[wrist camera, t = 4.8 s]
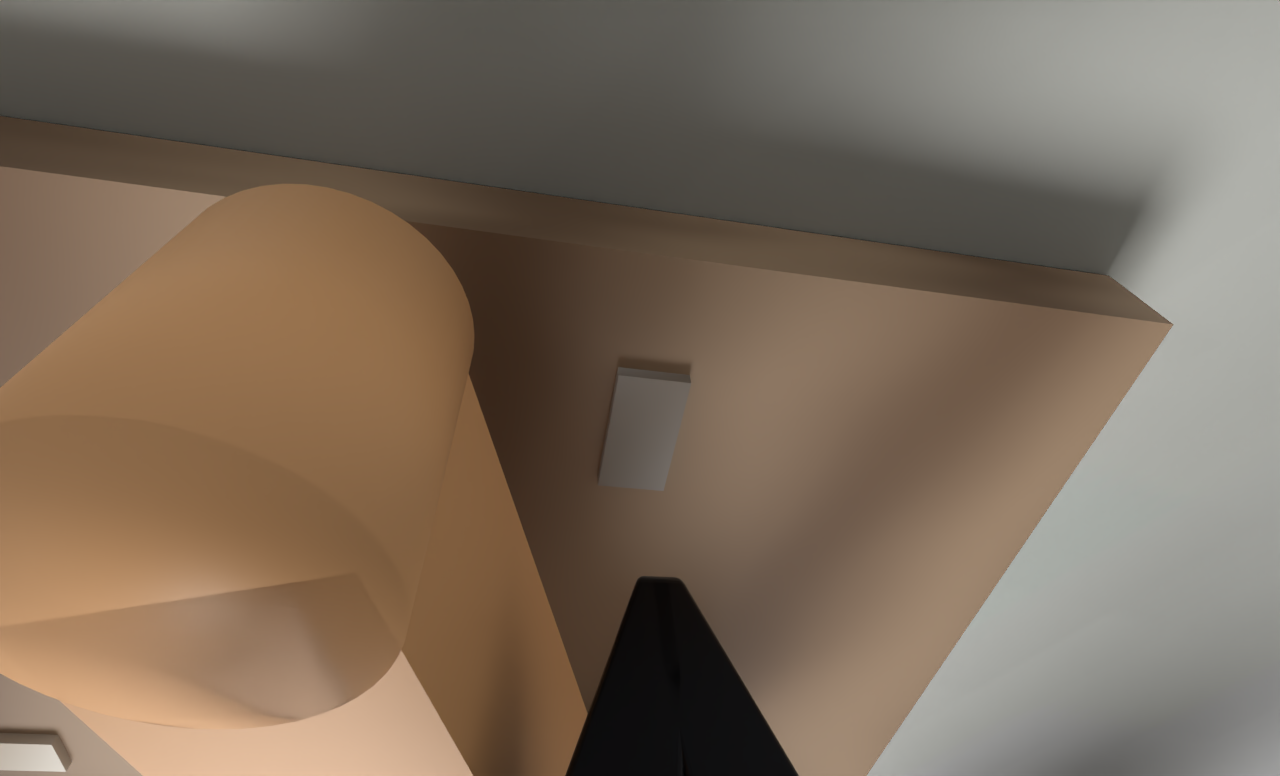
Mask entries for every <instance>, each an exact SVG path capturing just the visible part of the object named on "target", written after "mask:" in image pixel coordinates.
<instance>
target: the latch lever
mask: <svg viewBox="0 0 1280 776" xmlns="http://www.w3.org/2000/svg"><path fill="white" fill-rule="evenodd" d="M473 351H474V325H473V317H472V313H471V309H470V305H469V302H468V299H467V297H466V294H465V292H464V289H463V287H462V285H461V283H460V281H459V279H458V278H457V276H456V274H455V272H454V271H453V269H452V268H451V266H450V265H449V264H448V262H447V261H446V260H445V258H444V257H443V256H442V254H441V253H440V252H439V251H438V250H437V249H436V248H435V247H434V246H433V245H432V244H431V242H430V241H429V240H428V239H427V238H426V237H424V236H423V235H422V234H421V233H420V232H418V231H417V230H416V229H415V228H414V227H412V226H411V225H410V224H409V223H407V222H406V221H404V220H403V219H401V218H400V217H398V216H397V215H395V214H394V213H392V212H390V211H388V210H387V209H385V208H383V207H381V206H379V205H377V204H375V203H373V202H371V201H368V200H366V199H363V198H361V197H358V196H356V195H353V194H350V193H347V192H343V191H339V190H335V189H332V188H328V187H321V186H314V185H308V184H275V185H265V186H259V187H255V188H251V189H247V190H243V191H240V192H237V193H235V194H233V195H230V196H228V197H225V198H223V199H221V200H220V201H218V202H216V203H215V204H213V205H212V206H210V207H208V208H207V209H206V210H205V211H203V212H202V213H201V214H200V215H199V216H198V217H197V218H195V219H194V220H193V221H192V222H191V223H190V224H188V225H187V226H186V227H185V228H184V229H183V230H182V231H180V232H179V233H178V234H177V235H176V236H175V237H173V238H172V239H171V240H170V241H169V242H168V243H167V244H165V245H164V246H163V247H162V248H161V249H160V250H158V251H157V252H156V253H155V254H154V255H153V256H152V257H150V258H149V259H148V260H147V261H146V262H145V263H143V264H142V265H141V266H140V267H139V268H138V269H137V270H135V271H134V272H133V273H132V274H131V275H130V276H128V277H127V278H126V279H125V280H124V281H123V282H122V283H120V284H119V285H118V286H117V287H116V288H115V289H113V290H112V291H111V292H110V293H109V294H108V295H107V296H105V297H104V298H103V299H102V300H101V301H100V302H98V303H97V304H96V305H95V306H94V307H93V308H92V309H90V310H89V311H88V312H87V313H86V314H85V315H83V316H82V317H81V318H80V319H79V320H78V321H77V322H75V323H74V324H73V325H72V326H71V327H70V328H68V329H67V330H66V331H65V332H64V333H63V334H62V335H60V336H59V337H58V338H57V339H56V340H55V341H53V342H52V343H51V344H50V345H49V346H48V347H47V348H45V349H44V350H43V351H42V352H41V353H40V354H39V355H37V356H36V357H35V358H34V359H33V360H32V361H30V362H29V363H28V364H27V365H26V366H25V367H24V368H22V369H21V370H20V371H19V372H18V373H17V374H15V375H14V376H13V377H12V378H11V379H10V380H9V381H7V382H6V383H5V384H4V385H3V386H2V387H0V674H2V675H4V676H6V677H8V678H9V679H11V680H13V681H15V682H17V683H19V684H21V685H24V686H26V687H28V688H30V689H33V690H35V691H37V692H39V693H42V694H44V695H46V696H49V697H52V698H54V699H57V700H59V701H60V702H61V703H63V704H64V705H65V706H66V707H67V708H68V709H69V710H70V711H71V712H73V713H74V714H75V715H76V716H77V717H78V718H79V719H80V720H81V721H83V722H84V723H85V724H86V725H87V726H88V727H89V728H90V729H91V730H93V731H94V732H95V733H96V734H97V735H98V736H99V737H100V738H101V739H103V740H104V741H105V742H106V743H107V744H108V745H109V746H110V747H111V748H113V749H114V750H115V751H116V752H117V753H118V754H119V755H120V756H121V757H123V758H124V759H125V760H126V761H127V762H128V763H129V764H130V765H131V766H133V767H134V768H135V769H136V770H137V771H138V772H139V773H140V774H141V775H143V776H565V775H566V772H567V769H568V766H569V764H570V761H571V758H572V755H573V753H574V750H575V747H576V744H577V742H578V739H579V736H580V734H581V731H582V728H583V725H584V723H585V720H586V717H587V714H588V713H587V710H586V707H585V705H584V702H583V699H582V696H581V693H580V690H579V687H578V685H577V682H576V679H575V676H574V673H573V670H572V667H571V665H570V662H569V659H568V656H567V653H566V650H565V647H564V645H563V642H562V639H561V636H560V633H559V630H558V627H557V625H556V622H555V619H554V616H553V613H552V610H551V607H550V605H549V602H548V599H547V596H546V593H545V590H544V587H543V585H542V582H541V579H540V576H539V573H538V570H537V567H536V565H535V562H534V559H533V556H532V553H531V550H530V547H529V545H528V542H527V539H526V536H525V533H524V530H523V527H522V525H521V522H520V519H519V516H518V513H517V510H516V507H515V505H514V502H513V499H512V496H511V493H510V490H509V487H508V485H507V482H506V479H505V476H504V473H503V470H502V467H501V465H500V462H499V459H498V456H497V453H496V450H495V447H494V445H493V442H492V439H491V436H490V433H489V430H488V427H487V425H486V422H485V419H484V416H483V413H482V410H481V407H480V405H479V402H478V399H477V396H476V393H475V390H474V387H473V385H472V382H471V379H470V376H469V369H470V365H471V360H472V356H473Z"/></svg>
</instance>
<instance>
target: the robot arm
mask: <svg viewBox="0 0 1280 776" xmlns="http://www.w3.org/2000/svg"><path fill="white" fill-rule="evenodd" d="M565 776H799V775H798V773H797V771H796V770H795V768H794V766H793V765H792V763H791V761H790V759H789V758H788V756H787V754H786V753H785V751H784V749H783V748H782V746H781V744H780V743H779V741H778V739H777V738H776V736H775V734H774V733H773V731H772V729H771V728H770V726H769V724H768V723H767V721H766V719H765V718H764V716H763V714H762V713H761V711H760V709H759V708H758V706H757V704H756V703H755V701H754V699H753V698H752V696H751V694H750V693H749V691H748V689H747V687H746V686H745V684H744V682H743V681H742V679H741V677H740V676H739V674H738V672H737V671H736V669H735V667H734V666H733V664H732V662H731V661H730V659H729V657H728V656H727V654H726V652H725V651H724V649H723V647H722V646H721V644H720V642H719V641H718V639H717V637H716V636H715V634H714V632H713V631H712V629H711V627H710V626H709V624H708V622H707V620H706V619H705V617H704V615H703V614H702V612H701V610H700V609H699V607H698V605H697V604H696V602H695V600H694V599H693V597H692V595H691V594H690V592H689V590H688V589H687V587H686V585H685V584H684V582H683V581H682V580H681V579H679V578H677V577H659V576H641V577H639V578H638V579H637V581H636V583H635V586H634V589H633V591H632V594H631V597H630V599H629V602H628V605H627V608H626V610H625V613H624V616H623V619H622V621H621V624H620V627H619V630H618V632H617V635H616V638H615V641H614V643H613V646H612V649H611V651H610V654H609V657H608V660H607V662H606V665H605V668H604V671H603V673H602V676H601V679H600V682H599V684H598V687H597V690H596V692H595V695H594V698H593V701H592V703H591V706H590V709H589V712H588V714H587V717H586V720H585V723H584V725H583V728H582V731H581V734H580V736H579V739H578V742H577V744H576V747H575V750H574V753H573V755H572V758H571V761H570V764H569V766H568V769H567V772H566V775H565Z"/></svg>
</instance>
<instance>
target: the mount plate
mask: <svg viewBox="0 0 1280 776" xmlns="http://www.w3.org/2000/svg"><path fill="white" fill-rule="evenodd" d="M275 184H308V185H314V186H321V187H328V188H332V189H335V190H339V191H343V192H347V193H350V194H353V195H356V196H358V197H361V198H363V199H366V200H368V201H371V202H373V203H375V204H377V205H379V206H381V207H383V208H385V209H387V210H388V211H390V212H392V213H394V214H395V215H397V216H398V217H400V218H401V219H403V220H404V221H406V222H407V223H409V224H410V225H411V226H412V227H414V228H415V229H416V230H417V231H418V232H420V233H421V234H422V235H423V236H424V237H426V238H427V239H428V240H429V241H430V242H431V244H432V245H433V246H434V247H435V248H436V249H437V250H438V251H439V252H440V253H441V254H442V256H443V257H444V258H445V260H446V261H447V262H448V264H449V265H450V266H451V268H452V269H453V271H454V272H455V274H456V276H457V278H458V279H459V281H460V283H461V285H462V287H463V289H464V292H465V294H466V297H467V299H468V302H469V305H470V309H471V313H472V317H473V325H474V351H473V356H472V360H471V365H470V369H469V376H470V379H471V382H472V385H473V387H474V390H475V393H476V396H477V399H478V402H479V405H480V407H481V410H482V413H483V416H484V419H485V422H486V425H487V427H488V430H489V433H490V436H491V439H492V442H493V445H494V447H495V450H496V453H497V456H498V459H499V462H500V465H501V467H502V470H503V473H504V476H505V479H506V482H507V485H508V487H509V490H510V493H511V496H512V499H513V502H514V505H515V507H516V510H517V513H518V516H519V519H520V522H521V525H522V527H523V530H524V533H525V536H526V539H527V542H528V545H529V547H530V550H531V553H532V556H533V559H534V562H535V565H536V567H537V570H538V573H539V576H540V579H541V582H542V585H543V587H544V590H545V593H546V596H547V599H548V602H549V605H550V607H551V610H552V613H553V616H554V619H555V622H556V625H557V627H558V630H559V633H560V636H561V639H562V642H563V645H564V647H565V650H566V653H567V656H568V659H569V662H570V665H571V667H572V670H573V673H574V676H575V679H576V682H577V685H578V687H579V690H580V693H581V696H582V699H583V702H584V705H585V707H586V710H587V713H588V712H589V709H590V706H591V703H592V701H593V698H594V695H595V692H596V690H597V687H598V684H599V682H600V679H601V676H602V673H603V671H604V668H605V665H606V662H607V660H608V657H609V654H610V651H611V649H612V646H613V643H614V641H615V638H616V635H617V632H618V630H619V627H620V624H621V621H622V619H623V616H624V613H625V610H626V608H627V605H628V602H629V599H630V597H631V594H632V591H633V589H634V586H635V583H636V581H637V579H638V578H639V577H641V576H659V577H677V578H679V579H681V580H682V581H683V582H684V584H685V585H686V587H687V589H688V590H689V592H690V594H691V595H692V597H693V599H694V600H695V602H696V604H697V605H698V607H699V609H700V610H701V612H702V614H703V615H704V617H705V619H706V620H707V622H708V624H709V626H710V627H711V629H712V631H713V632H714V634H715V636H716V637H717V639H718V641H719V642H720V644H721V646H722V647H723V649H724V651H725V652H726V654H727V656H728V657H729V659H730V661H731V662H732V664H733V666H734V667H735V669H736V671H737V672H738V674H739V676H740V677H741V679H742V681H743V682H744V684H745V686H746V687H747V689H748V691H749V693H750V694H751V696H752V698H753V699H754V701H755V703H756V704H757V706H758V708H759V709H760V711H761V713H762V714H763V716H764V718H765V719H766V721H767V723H768V724H769V726H770V728H771V729H772V731H773V733H774V734H775V736H776V738H777V739H778V741H779V743H780V744H781V746H782V748H783V749H784V751H785V753H786V754H787V756H788V758H789V759H790V761H791V763H792V765H793V766H794V768H795V770H796V771H797V773H798V775H799V776H866V775H867V774H868V772H869V771H870V769H871V768H872V767H873V765H874V764H875V762H876V761H877V759H878V758H879V756H880V755H881V753H882V752H883V750H884V749H885V747H886V746H887V744H888V743H889V742H890V740H891V739H892V737H893V736H894V734H895V733H896V731H897V730H898V728H899V727H900V725H901V724H902V722H903V721H904V720H905V718H906V717H907V715H908V714H909V712H910V711H911V709H912V708H913V706H914V705H915V703H916V702H917V700H918V699H919V697H920V696H921V695H922V693H923V692H924V690H925V689H926V687H927V686H928V684H929V683H930V681H931V680H932V678H933V677H934V675H935V674H936V672H937V671H938V670H939V668H940V667H941V665H942V664H943V662H944V661H945V659H946V658H947V656H948V655H949V653H950V652H951V650H952V649H953V648H954V646H955V645H956V643H957V642H958V640H959V639H960V637H961V636H962V634H963V633H964V631H965V630H966V628H967V627H968V625H969V624H970V623H971V621H972V620H973V618H974V617H975V615H976V614H977V612H978V611H979V609H980V608H981V606H982V605H983V603H984V602H985V600H986V599H987V598H988V596H989V595H990V593H991V592H992V590H993V589H994V587H995V586H996V584H997V583H998V581H999V580H1000V578H1001V577H1002V575H1003V574H1004V573H1005V571H1006V570H1007V568H1008V567H1009V565H1010V564H1011V562H1012V561H1013V559H1014V558H1015V556H1016V555H1017V553H1018V552H1019V551H1020V549H1021V548H1022V546H1023V545H1024V543H1025V542H1026V540H1027V539H1028V537H1029V536H1030V534H1031V533H1032V531H1033V530H1034V528H1035V527H1036V526H1037V524H1038V523H1039V521H1040V520H1041V518H1042V517H1043V515H1044V514H1045V512H1046V511H1047V509H1048V508H1049V506H1050V505H1051V503H1052V502H1053V501H1054V499H1055V498H1056V496H1057V495H1058V493H1059V492H1060V490H1061V489H1062V487H1063V486H1064V484H1065V483H1066V481H1067V480H1068V479H1069V477H1070V476H1071V474H1072V473H1073V471H1074V470H1075V468H1076V467H1077V465H1078V464H1079V462H1080V461H1081V459H1082V458H1083V456H1084V455H1085V454H1086V452H1087V451H1088V449H1089V448H1090V446H1091V445H1092V443H1093V442H1094V440H1095V439H1096V437H1097V436H1098V434H1099V433H1100V431H1101V430H1102V429H1103V427H1104V426H1105V424H1106V423H1107V421H1108V420H1109V418H1110V417H1111V415H1112V414H1113V412H1114V411H1115V409H1116V408H1117V406H1118V405H1119V404H1120V402H1121V401H1122V399H1123V398H1124V396H1125V395H1126V393H1127V392H1128V390H1129V389H1130V387H1131V386H1132V384H1133V383H1134V382H1135V380H1136V379H1137V377H1138V376H1139V374H1140V373H1141V371H1142V370H1143V368H1144V367H1145V365H1146V364H1147V362H1148V361H1149V359H1150V358H1151V357H1152V355H1153V354H1154V352H1155V351H1156V349H1157V348H1158V346H1159V345H1160V343H1161V342H1162V340H1163V339H1164V337H1165V336H1166V334H1167V333H1168V332H1169V330H1170V329H1171V327H1172V326H1173V324H1172V323H1171V322H1169V321H1168V320H1167V319H1165V318H1164V317H1163V316H1161V315H1160V314H1159V313H1157V312H1156V311H1155V310H1153V309H1152V308H1151V307H1149V306H1148V305H1147V304H1145V303H1144V302H1143V301H1142V300H1140V299H1139V298H1138V297H1136V296H1135V295H1134V294H1132V293H1131V292H1130V291H1128V290H1127V289H1126V288H1124V287H1123V286H1122V285H1120V284H1119V283H1118V282H1116V281H1115V280H1114V279H1112V278H1111V277H1110V276H1107V275H1100V274H1093V273H1086V272H1079V271H1072V270H1065V269H1058V268H1051V267H1044V266H1037V265H1030V264H1023V263H1016V262H1010V261H1003V260H996V259H989V258H982V257H975V256H968V255H961V254H954V253H947V252H940V251H933V250H926V249H919V248H912V247H906V246H899V245H892V244H885V243H878V242H871V241H864V240H857V239H850V238H843V237H836V236H829V235H822V234H815V233H808V232H802V231H795V230H788V229H781V228H774V227H767V226H760V225H753V224H746V223H739V222H732V221H725V220H718V219H711V218H704V217H698V216H691V215H684V214H677V213H670V212H663V211H656V210H649V209H642V208H635V207H628V206H621V205H614V204H607V203H601V202H594V201H587V200H580V199H573V198H566V197H559V196H552V195H545V194H538V193H531V192H524V191H517V190H510V189H503V188H497V187H490V186H483V185H476V184H469V183H462V182H455V181H448V180H441V179H434V178H427V177H420V176H413V175H406V174H399V173H393V172H386V171H379V170H372V169H365V168H358V167H351V166H344V165H337V164H330V163H323V162H316V161H309V160H302V159H295V158H289V157H282V156H275V155H268V154H261V153H254V152H247V151H240V150H233V149H226V148H219V147H212V146H205V145H198V144H191V143H185V142H178V141H171V140H164V139H157V138H150V137H143V136H136V135H129V134H122V133H115V132H108V131H101V130H94V129H87V128H81V127H74V126H67V125H60V124H53V123H46V122H39V121H32V120H25V119H18V118H11V117H4V116H0V387H2V386H3V385H4V384H5V383H6V382H7V381H9V380H10V379H11V378H12V377H13V376H14V375H15V374H17V373H18V372H19V371H20V370H21V369H22V368H24V367H25V366H26V365H27V364H28V363H29V362H30V361H32V360H33V359H34V358H35V357H36V356H37V355H39V354H40V353H41V352H42V351H43V350H44V349H45V348H47V347H48V346H49V345H50V344H51V343H52V342H53V341H55V340H56V339H57V338H58V337H59V336H60V335H62V334H63V333H64V332H65V331H66V330H67V329H68V328H70V327H71V326H72V325H73V324H74V323H75V322H77V321H78V320H79V319H80V318H81V317H82V316H83V315H85V314H86V313H87V312H88V311H89V310H90V309H92V308H93V307H94V306H95V305H96V304H97V303H98V302H100V301H101V300H102V299H103V298H104V297H105V296H107V295H108V294H109V293H110V292H111V291H112V290H113V289H115V288H116V287H117V286H118V285H119V284H120V283H122V282H123V281H124V280H125V279H126V278H127V277H128V276H130V275H131V274H132V273H133V272H134V271H135V270H137V269H138V268H139V267H140V266H141V265H142V264H143V263H145V262H146V261H147V260H148V259H149V258H150V257H152V256H153V255H154V254H155V253H156V252H157V251H158V250H160V249H161V248H162V247H163V246H164V245H165V244H167V243H168V242H169V241H170V240H171V239H172V238H173V237H175V236H176V235H177V234H178V233H179V232H180V231H182V230H183V229H184V228H185V227H186V226H187V225H188V224H190V223H191V222H192V221H193V220H194V219H195V218H197V217H198V216H199V215H200V214H201V213H202V212H203V211H205V210H206V209H207V208H208V207H210V206H212V205H213V204H215V203H216V202H218V201H220V200H221V199H223V198H225V197H228V196H230V195H233V194H235V193H237V192H240V191H243V190H247V189H251V188H255V187H259V186H265V185H275ZM0 776H143V775H141V774H140V773H139V772H138V771H137V770H136V769H135V768H134V767H133V766H131V765H130V764H129V763H128V762H127V761H126V760H125V759H124V758H123V757H121V756H120V755H119V754H118V753H117V752H116V751H115V750H114V749H113V748H111V747H110V746H109V745H108V744H107V743H106V742H105V741H104V740H103V739H101V738H100V737H99V736H98V735H97V734H96V733H95V732H94V731H93V730H91V729H90V728H89V727H88V726H87V725H86V724H85V723H84V722H83V721H81V720H80V719H79V718H78V717H77V716H76V715H75V714H74V713H73V712H71V711H70V710H69V709H68V708H67V707H66V706H65V705H64V704H63V703H61V702H60V701H59V700H57V699H54V698H52V697H49V696H46V695H44V694H42V693H39V692H37V691H35V690H33V689H30V688H28V687H26V686H24V685H21V684H19V683H17V682H15V681H13V680H11V679H9V678H8V677H6V676H4V675H2V674H0Z"/></svg>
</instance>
